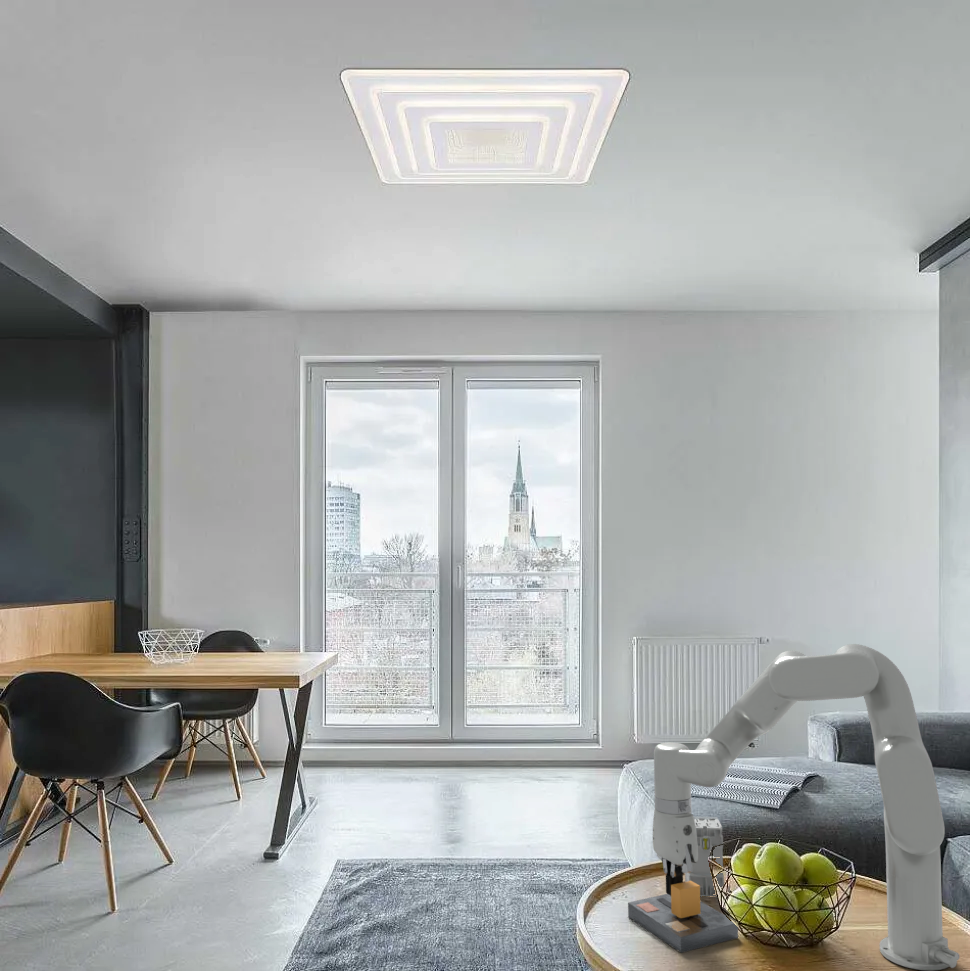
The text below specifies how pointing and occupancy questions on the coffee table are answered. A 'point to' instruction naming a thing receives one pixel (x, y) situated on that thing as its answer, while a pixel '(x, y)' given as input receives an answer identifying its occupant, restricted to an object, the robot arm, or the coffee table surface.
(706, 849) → the circuit breaker
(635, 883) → the coffee table surface
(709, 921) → the panel
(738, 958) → the coffee table surface
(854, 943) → the coffee table surface
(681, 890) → the block
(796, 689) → the robot arm
